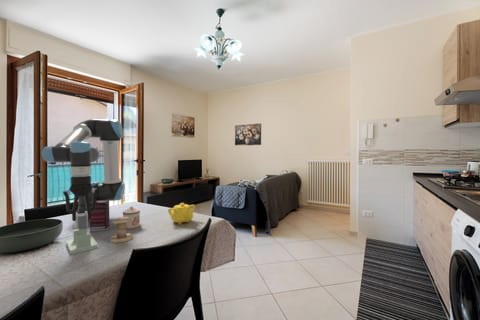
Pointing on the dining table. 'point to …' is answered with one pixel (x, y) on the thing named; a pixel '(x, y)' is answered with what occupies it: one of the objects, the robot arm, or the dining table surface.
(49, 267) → the dining table surface
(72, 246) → the notch board
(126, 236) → the bobbin
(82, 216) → the lead tab
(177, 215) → the teapot
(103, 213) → the supplement box
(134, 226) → the teacup with lid
